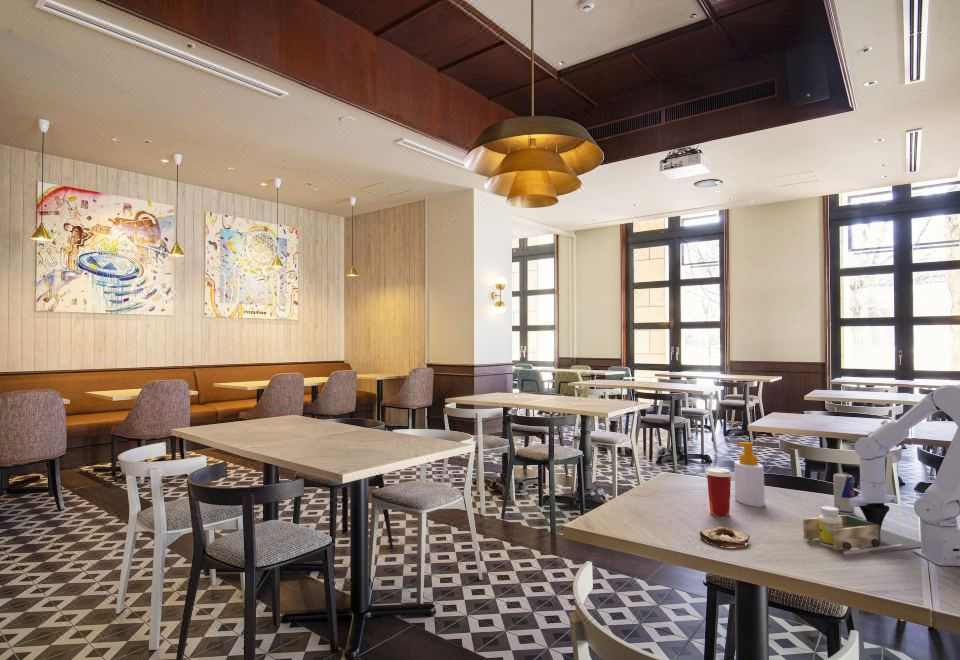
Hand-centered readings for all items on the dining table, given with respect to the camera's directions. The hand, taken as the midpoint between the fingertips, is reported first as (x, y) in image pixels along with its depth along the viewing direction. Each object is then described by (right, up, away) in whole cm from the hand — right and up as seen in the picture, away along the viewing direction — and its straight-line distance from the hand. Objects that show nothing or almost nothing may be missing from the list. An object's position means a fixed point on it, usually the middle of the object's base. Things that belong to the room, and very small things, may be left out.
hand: (874, 530), depth 149 cm
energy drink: (+8, -4, +25) cm, 26 cm away
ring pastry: (-41, -3, 0) cm, 41 cm away
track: (-4, -2, -1) cm, 5 cm away
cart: (-11, -2, -3) cm, 12 cm away
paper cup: (-32, -4, +24) cm, 40 cm away
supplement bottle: (-14, -3, -4) cm, 15 cm away
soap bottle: (-16, -4, +38) cm, 41 cm away
